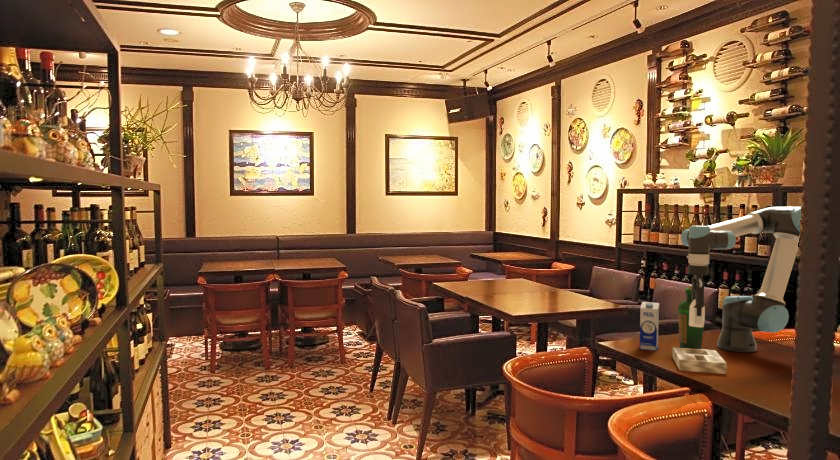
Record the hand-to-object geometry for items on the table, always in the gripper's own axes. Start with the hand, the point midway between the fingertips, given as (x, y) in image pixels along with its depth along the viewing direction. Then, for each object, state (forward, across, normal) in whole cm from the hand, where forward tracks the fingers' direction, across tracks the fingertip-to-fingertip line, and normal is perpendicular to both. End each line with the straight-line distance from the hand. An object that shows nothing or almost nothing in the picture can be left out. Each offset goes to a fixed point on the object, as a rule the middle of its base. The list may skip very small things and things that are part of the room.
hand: (696, 322), depth 236 cm
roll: (+2, 0, 0) cm, 2 cm away
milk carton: (+16, -18, -16) cm, 29 cm away
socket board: (+16, +5, 0) cm, 17 cm away
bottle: (+16, -20, +1) cm, 26 cm away
